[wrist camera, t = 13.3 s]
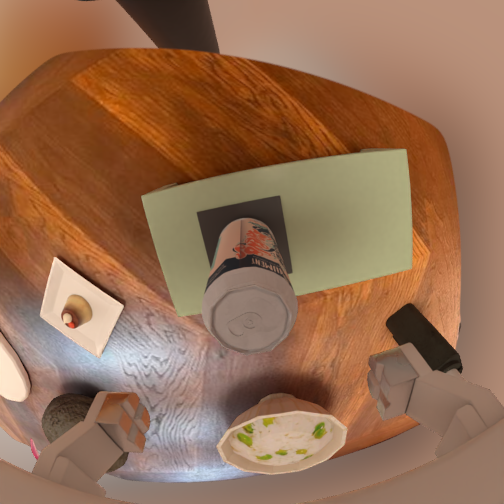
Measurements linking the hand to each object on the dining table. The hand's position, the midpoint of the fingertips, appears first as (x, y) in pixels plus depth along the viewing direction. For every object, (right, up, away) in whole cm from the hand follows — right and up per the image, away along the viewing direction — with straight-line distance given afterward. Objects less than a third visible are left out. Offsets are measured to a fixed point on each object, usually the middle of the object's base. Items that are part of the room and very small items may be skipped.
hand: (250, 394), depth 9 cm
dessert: (-25, -3, +27) cm, 37 cm away
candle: (+23, -6, +29) cm, 37 cm away
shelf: (+3, +9, +23) cm, 25 cm away
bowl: (+4, -21, +34) cm, 40 cm away
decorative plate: (-58, -19, +31) cm, 69 cm away
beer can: (0, +5, +16) cm, 17 cm away
